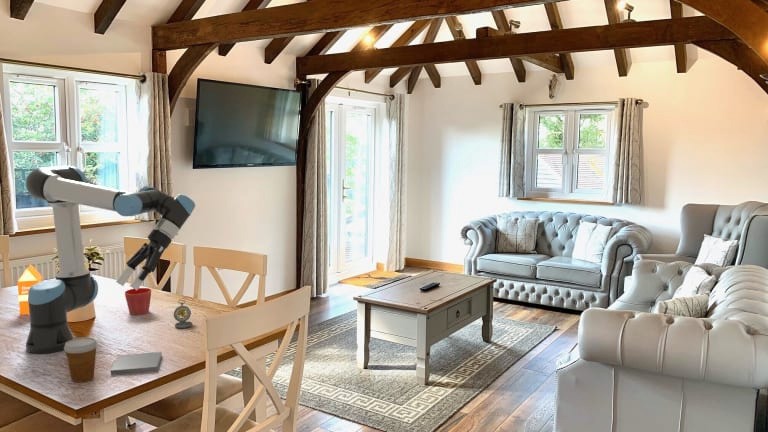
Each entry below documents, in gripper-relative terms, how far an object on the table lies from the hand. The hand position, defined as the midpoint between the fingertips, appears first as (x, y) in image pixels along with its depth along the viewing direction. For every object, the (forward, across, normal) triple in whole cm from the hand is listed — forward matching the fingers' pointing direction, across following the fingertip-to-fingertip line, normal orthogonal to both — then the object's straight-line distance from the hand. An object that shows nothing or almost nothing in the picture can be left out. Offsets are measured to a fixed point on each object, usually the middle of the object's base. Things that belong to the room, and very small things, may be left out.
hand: (126, 286), depth 204 cm
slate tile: (+20, -4, -17) cm, 27 cm away
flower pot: (+2, +56, -31) cm, 64 cm away
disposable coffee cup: (+31, -5, -4) cm, 32 cm away
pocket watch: (-1, +26, -38) cm, 46 cm away
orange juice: (+22, +87, -3) cm, 90 cm away
